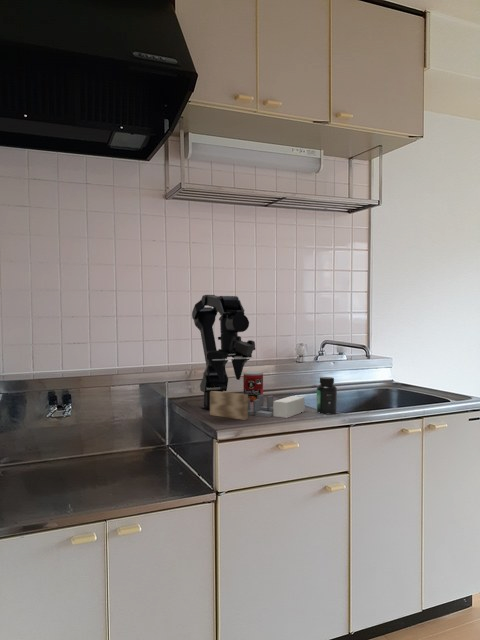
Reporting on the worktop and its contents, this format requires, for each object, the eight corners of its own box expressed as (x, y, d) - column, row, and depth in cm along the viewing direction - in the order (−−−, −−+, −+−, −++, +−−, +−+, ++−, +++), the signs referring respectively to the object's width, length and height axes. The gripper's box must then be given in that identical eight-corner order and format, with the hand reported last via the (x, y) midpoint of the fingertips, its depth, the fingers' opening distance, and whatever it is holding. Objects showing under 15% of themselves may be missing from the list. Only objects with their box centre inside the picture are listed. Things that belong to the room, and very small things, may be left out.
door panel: (209, 415, 168) (209, 391, 168) (213, 414, 170) (213, 390, 170) (244, 420, 161) (244, 395, 160) (247, 419, 162) (247, 394, 162)
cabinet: (243, 413, 170) (243, 399, 170) (266, 406, 183) (266, 393, 183) (282, 419, 161) (282, 403, 161) (304, 411, 174) (304, 397, 174)
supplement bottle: (316, 414, 170) (317, 378, 169) (316, 410, 176) (316, 376, 176) (337, 414, 169) (337, 379, 169) (336, 410, 176) (336, 376, 175)
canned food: (241, 401, 194) (241, 373, 193) (246, 398, 201) (246, 371, 201) (260, 402, 192) (260, 373, 192) (264, 399, 200) (264, 371, 199)
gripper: (233, 332, 154) (234, 382, 153) (264, 332, 169) (265, 378, 168) (204, 333, 160) (205, 382, 159) (237, 334, 175) (238, 378, 174)
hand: (230, 380), depth 165 cm, fingers open, 9 cm apart
